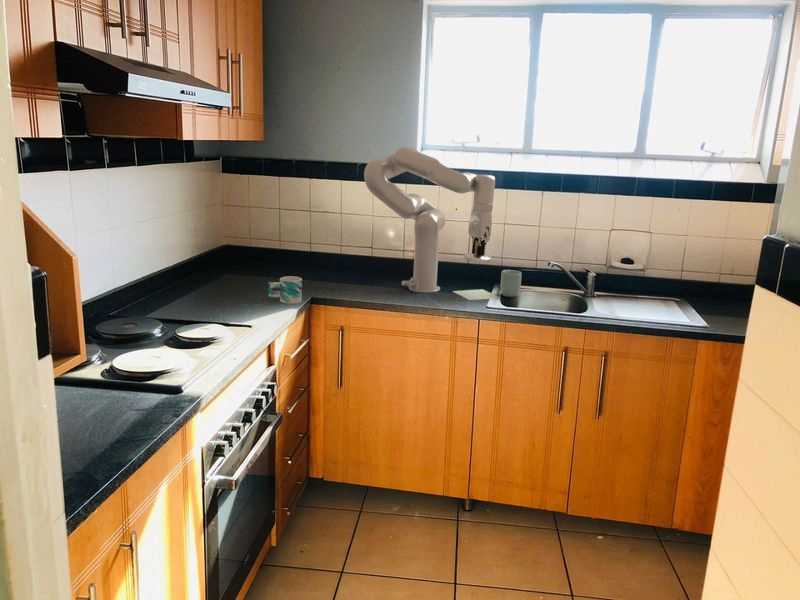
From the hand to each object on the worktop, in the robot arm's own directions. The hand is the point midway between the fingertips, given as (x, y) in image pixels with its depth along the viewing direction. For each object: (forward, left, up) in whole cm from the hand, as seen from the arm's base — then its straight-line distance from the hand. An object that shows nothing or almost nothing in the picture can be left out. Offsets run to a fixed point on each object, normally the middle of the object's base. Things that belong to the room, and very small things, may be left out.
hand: (477, 254), depth 257 cm
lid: (0, 0, -2) cm, 2 cm away
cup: (+13, -4, -17) cm, 22 cm away
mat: (0, 0, -17) cm, 17 cm away
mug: (-74, +11, -17) cm, 76 cm away
